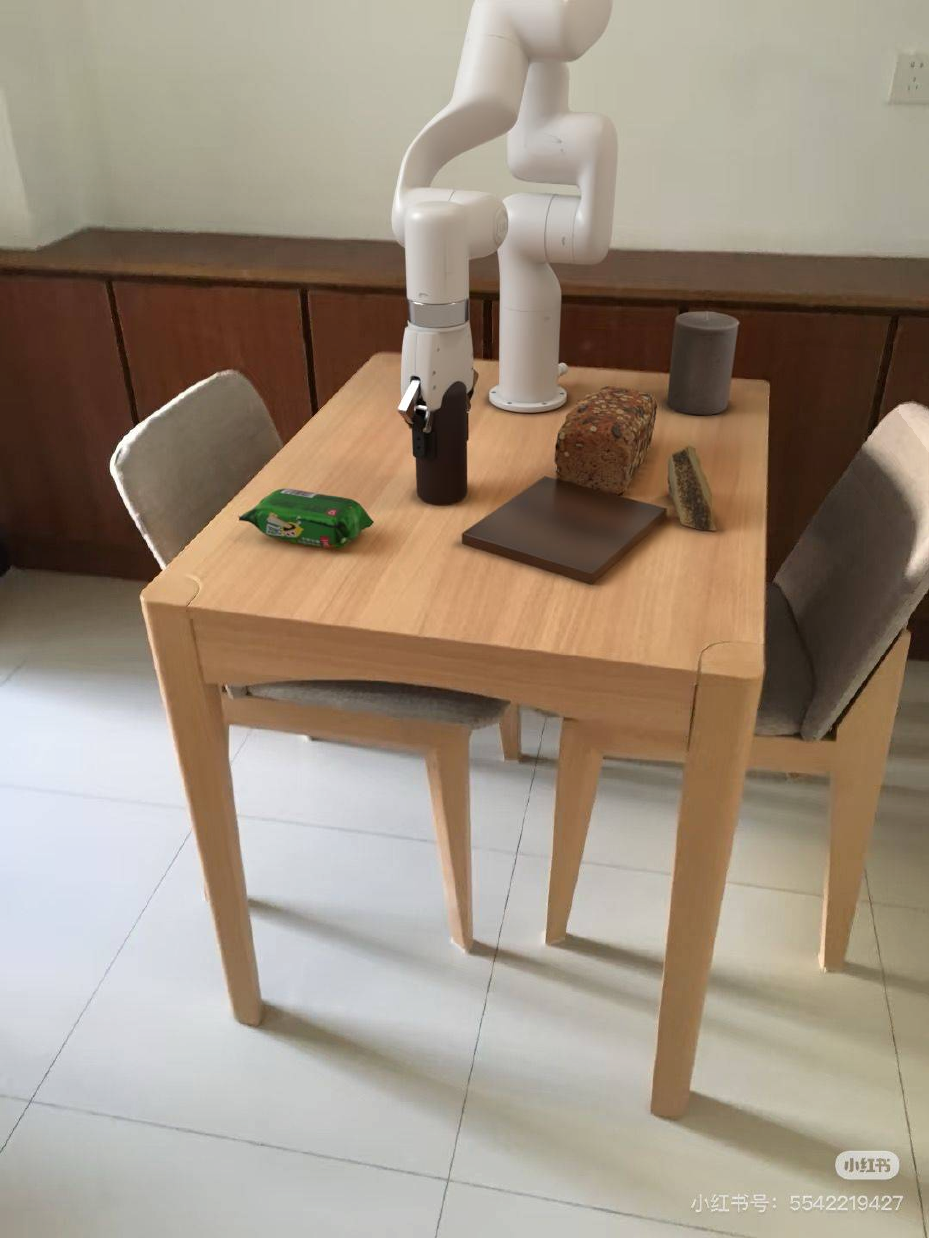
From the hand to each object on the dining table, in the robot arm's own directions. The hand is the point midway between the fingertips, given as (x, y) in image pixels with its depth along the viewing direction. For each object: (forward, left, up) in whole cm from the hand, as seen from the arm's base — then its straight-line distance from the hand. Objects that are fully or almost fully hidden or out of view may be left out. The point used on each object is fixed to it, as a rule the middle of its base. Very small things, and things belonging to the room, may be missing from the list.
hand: (441, 448), depth 133 cm
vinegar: (0, 0, -7) cm, 7 cm away
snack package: (+19, -7, -7) cm, 21 cm away
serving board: (0, +19, -7) cm, 20 cm away
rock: (-14, +30, -7) cm, 33 cm away
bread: (-20, +14, -7) cm, 25 cm away
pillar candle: (-50, +15, -7) cm, 53 cm away
